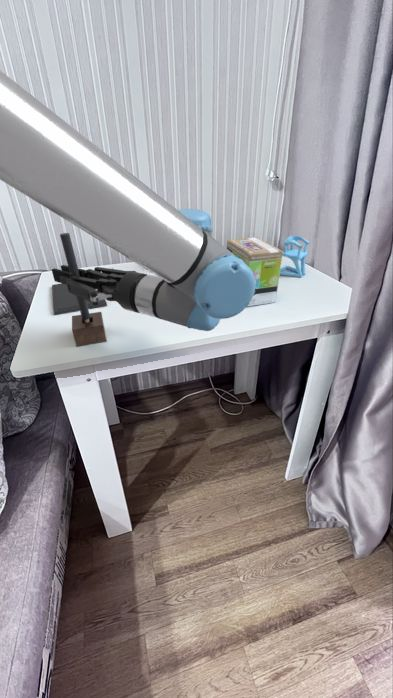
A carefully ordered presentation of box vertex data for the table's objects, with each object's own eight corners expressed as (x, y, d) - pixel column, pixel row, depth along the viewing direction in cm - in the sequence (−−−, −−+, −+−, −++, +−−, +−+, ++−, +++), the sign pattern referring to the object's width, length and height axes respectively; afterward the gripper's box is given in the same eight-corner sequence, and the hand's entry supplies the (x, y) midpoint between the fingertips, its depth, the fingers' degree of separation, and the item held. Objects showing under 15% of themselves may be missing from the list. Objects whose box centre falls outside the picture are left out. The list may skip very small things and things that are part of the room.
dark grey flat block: (52, 287, 102) (51, 284, 101) (97, 280, 106) (97, 277, 105) (54, 315, 86) (53, 311, 86) (107, 305, 91) (106, 302, 90)
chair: (298, 279, 104) (304, 242, 97) (275, 274, 108) (279, 237, 102) (308, 272, 109) (315, 236, 102) (285, 267, 113) (290, 232, 107)
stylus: (81, 324, 74) (57, 235, 63) (85, 320, 76) (63, 232, 65) (88, 324, 74) (65, 235, 63) (92, 321, 75) (71, 232, 64)
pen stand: (76, 346, 74) (71, 329, 71) (76, 332, 79) (71, 315, 76) (106, 341, 75) (103, 324, 73) (104, 327, 81) (101, 311, 78)
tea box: (277, 302, 91) (284, 250, 82) (244, 308, 88) (248, 254, 80) (253, 283, 103) (257, 235, 94) (224, 287, 100) (225, 238, 92)
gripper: (122, 328, 58) (35, 301, 68) (167, 297, 69) (87, 278, 78) (116, 290, 54) (24, 266, 64) (165, 263, 65) (80, 247, 74)
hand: (59, 273), depth 71 cm, fingers closed on stylus, 2 cm apart
